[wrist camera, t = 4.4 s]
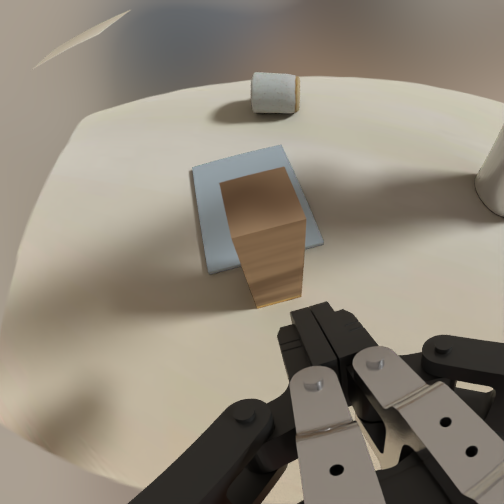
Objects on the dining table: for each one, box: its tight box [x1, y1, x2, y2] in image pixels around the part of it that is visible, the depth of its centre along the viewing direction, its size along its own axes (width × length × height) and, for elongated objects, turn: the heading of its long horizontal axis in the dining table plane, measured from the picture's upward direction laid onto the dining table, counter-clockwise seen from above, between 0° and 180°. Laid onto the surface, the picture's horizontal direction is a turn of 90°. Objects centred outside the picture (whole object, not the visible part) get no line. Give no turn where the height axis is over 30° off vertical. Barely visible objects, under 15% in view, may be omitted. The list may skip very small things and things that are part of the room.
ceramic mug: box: [251, 72, 300, 113], centre depth 46 cm, size 11×8×8 cm
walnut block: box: [219, 167, 306, 308], centre depth 27 cm, size 5×5×15 cm
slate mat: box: [192, 145, 324, 274], centre depth 39 cm, size 18×14×1 cm
